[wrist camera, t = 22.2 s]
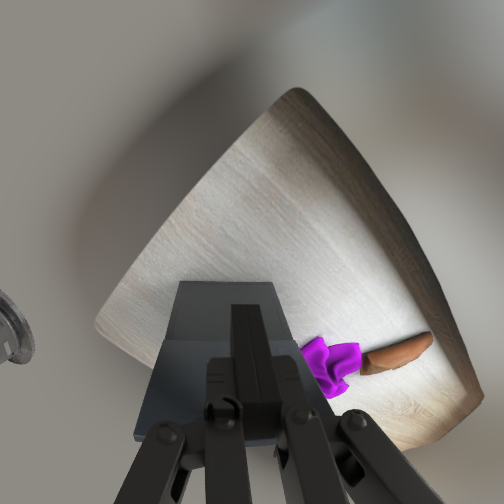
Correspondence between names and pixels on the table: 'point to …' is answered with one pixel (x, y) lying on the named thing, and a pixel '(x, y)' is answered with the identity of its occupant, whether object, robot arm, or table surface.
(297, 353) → the lid
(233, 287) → the dark grey open box
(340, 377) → the cloth
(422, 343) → the sunglasses case
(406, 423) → the table surface
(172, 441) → the robot arm
